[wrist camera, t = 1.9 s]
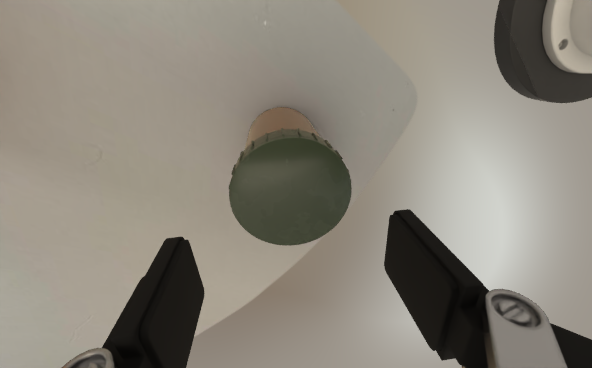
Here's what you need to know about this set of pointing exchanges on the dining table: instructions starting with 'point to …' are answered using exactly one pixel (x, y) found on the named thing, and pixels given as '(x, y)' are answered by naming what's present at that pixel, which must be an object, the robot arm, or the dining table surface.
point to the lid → (289, 187)
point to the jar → (278, 123)
